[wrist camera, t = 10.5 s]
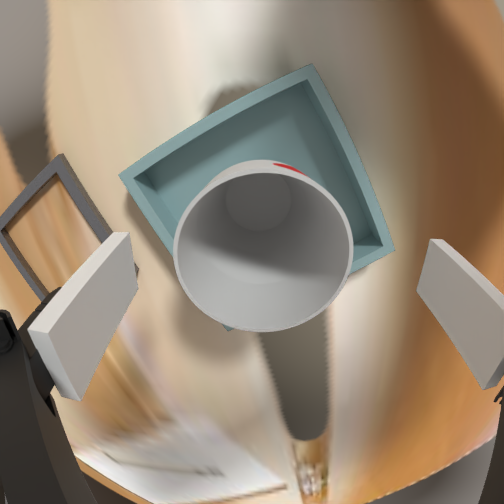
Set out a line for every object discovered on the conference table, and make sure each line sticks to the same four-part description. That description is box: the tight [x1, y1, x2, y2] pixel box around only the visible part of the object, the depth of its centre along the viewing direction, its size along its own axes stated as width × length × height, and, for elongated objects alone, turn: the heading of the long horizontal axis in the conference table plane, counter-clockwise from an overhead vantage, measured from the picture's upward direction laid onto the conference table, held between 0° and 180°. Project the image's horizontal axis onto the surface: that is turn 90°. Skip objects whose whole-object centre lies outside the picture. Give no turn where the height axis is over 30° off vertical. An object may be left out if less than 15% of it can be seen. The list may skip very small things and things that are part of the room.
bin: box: [119, 64, 395, 331], centre depth 22 cm, size 15×15×3 cm
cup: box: [173, 160, 353, 332], centre depth 18 cm, size 8×8×10 cm
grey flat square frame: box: [0, 154, 139, 302], centre depth 24 cm, size 12×12×1 cm
